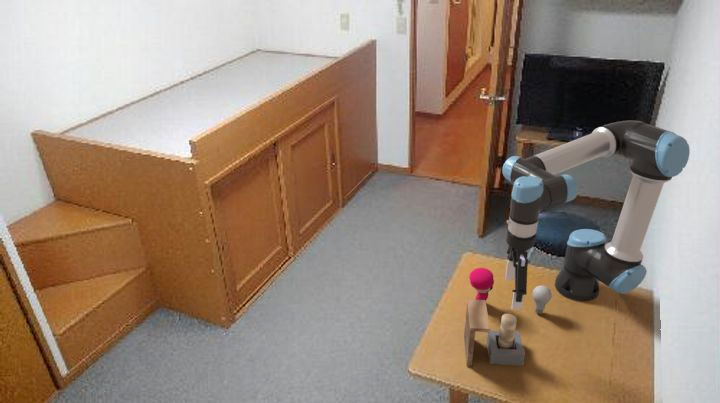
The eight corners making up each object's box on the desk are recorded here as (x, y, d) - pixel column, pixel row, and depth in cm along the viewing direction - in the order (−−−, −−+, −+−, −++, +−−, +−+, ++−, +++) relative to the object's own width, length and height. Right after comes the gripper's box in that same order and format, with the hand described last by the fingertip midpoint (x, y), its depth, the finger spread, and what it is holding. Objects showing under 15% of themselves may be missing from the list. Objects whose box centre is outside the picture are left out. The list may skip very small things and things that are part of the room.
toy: (493, 314, 186) (497, 278, 179) (468, 314, 186) (472, 279, 179) (488, 298, 193) (492, 263, 186) (464, 298, 194) (468, 264, 186)
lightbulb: (548, 320, 183) (553, 294, 177) (530, 317, 184) (534, 292, 179) (547, 308, 188) (551, 282, 183) (528, 306, 189) (533, 280, 184)
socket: (518, 342, 174) (519, 332, 172) (522, 365, 165) (524, 354, 163) (486, 341, 175) (488, 330, 173) (489, 363, 166) (491, 352, 164)
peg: (510, 348, 172) (515, 314, 165) (512, 358, 168) (517, 323, 161) (496, 347, 172) (500, 313, 165) (497, 357, 168) (502, 323, 161)
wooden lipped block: (481, 337, 176) (485, 300, 169) (485, 367, 165) (489, 329, 158) (464, 336, 177) (467, 299, 169) (466, 366, 166) (470, 327, 158)
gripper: (502, 208, 160) (495, 267, 170) (514, 257, 138) (505, 321, 148) (528, 209, 159) (519, 268, 169) (544, 258, 137) (533, 322, 147)
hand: (513, 293), depth 159 cm, fingers open, 13 cm apart
